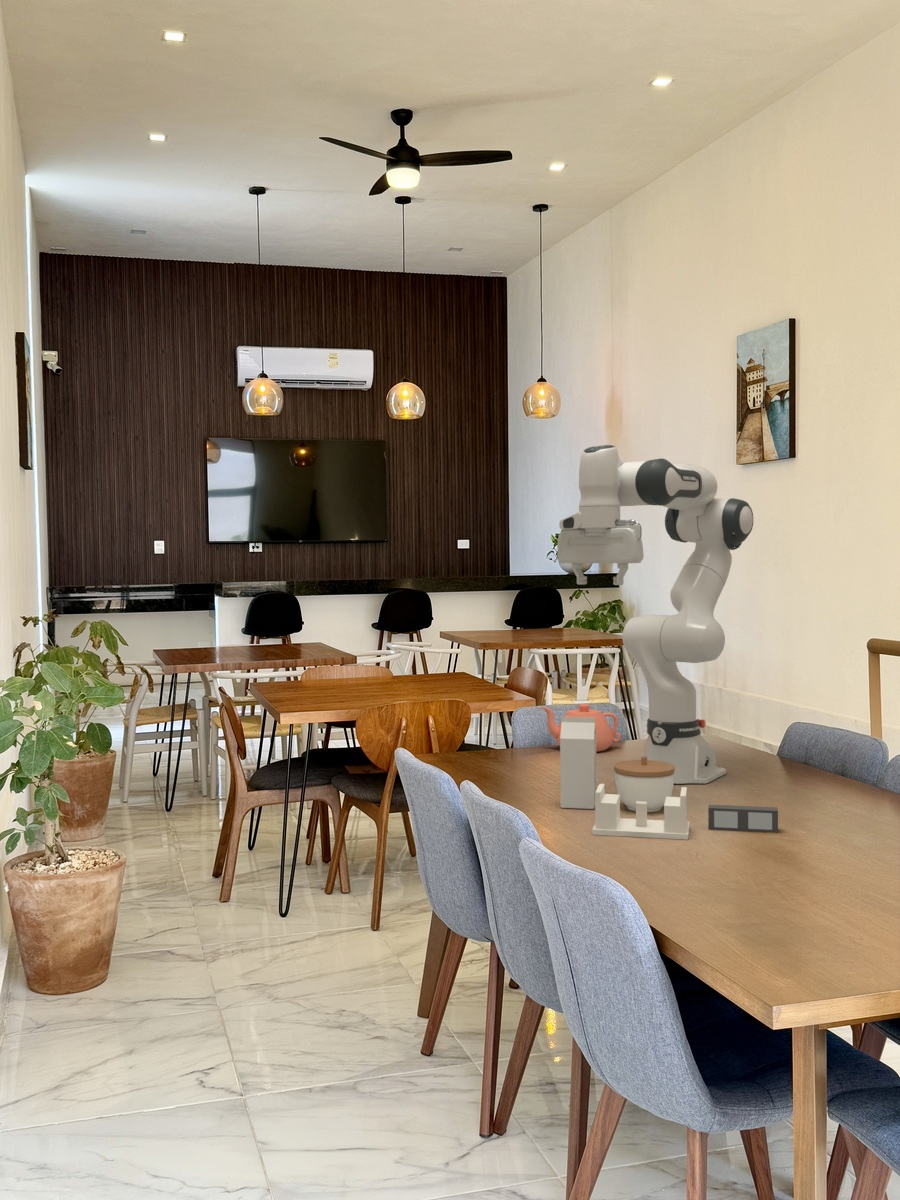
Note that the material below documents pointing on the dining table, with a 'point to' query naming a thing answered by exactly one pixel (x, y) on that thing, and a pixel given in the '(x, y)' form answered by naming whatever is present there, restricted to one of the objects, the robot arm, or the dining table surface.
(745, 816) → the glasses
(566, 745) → the milk carton
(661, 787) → the lidded bowl
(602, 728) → the teapot
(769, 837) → the dining table surface
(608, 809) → the stand
